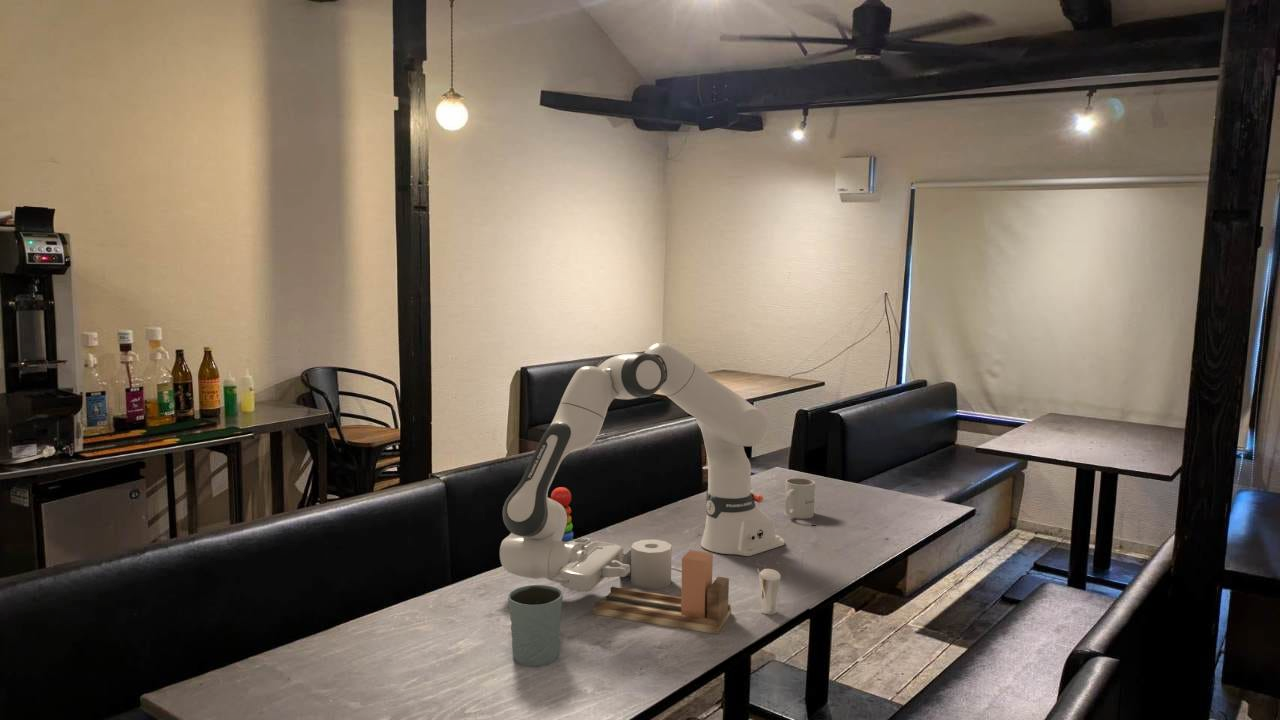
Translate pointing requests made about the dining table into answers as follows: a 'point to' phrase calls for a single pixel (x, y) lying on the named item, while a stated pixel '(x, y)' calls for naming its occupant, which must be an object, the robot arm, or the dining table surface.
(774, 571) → the milkshake
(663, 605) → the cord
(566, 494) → the stacking toy
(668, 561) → the toilet tissue
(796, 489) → the mug
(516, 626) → the green cup
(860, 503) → the dining table surface
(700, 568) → the panel
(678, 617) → the channel
